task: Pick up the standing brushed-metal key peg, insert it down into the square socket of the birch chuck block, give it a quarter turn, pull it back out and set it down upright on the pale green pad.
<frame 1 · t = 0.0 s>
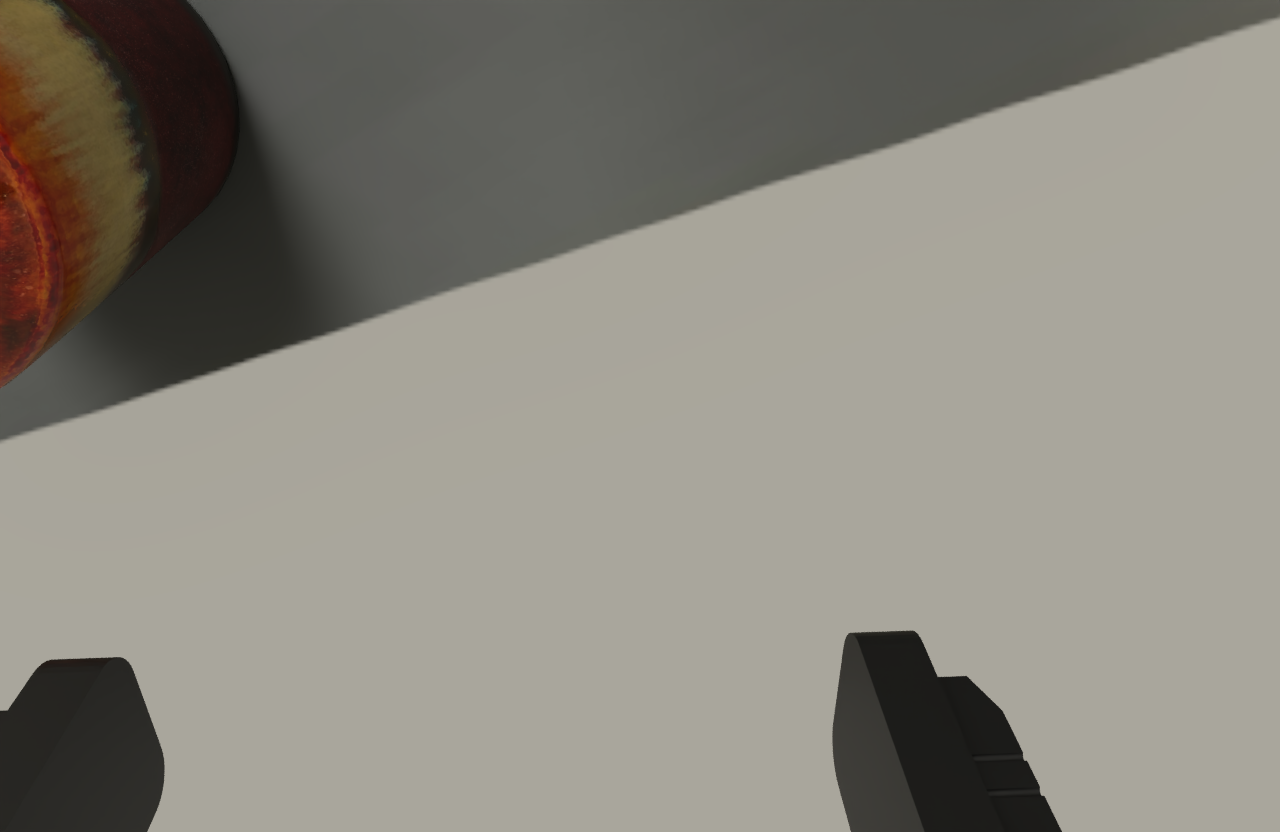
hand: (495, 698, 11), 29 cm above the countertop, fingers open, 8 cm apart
vase: (91, 94, 35), on the countertop
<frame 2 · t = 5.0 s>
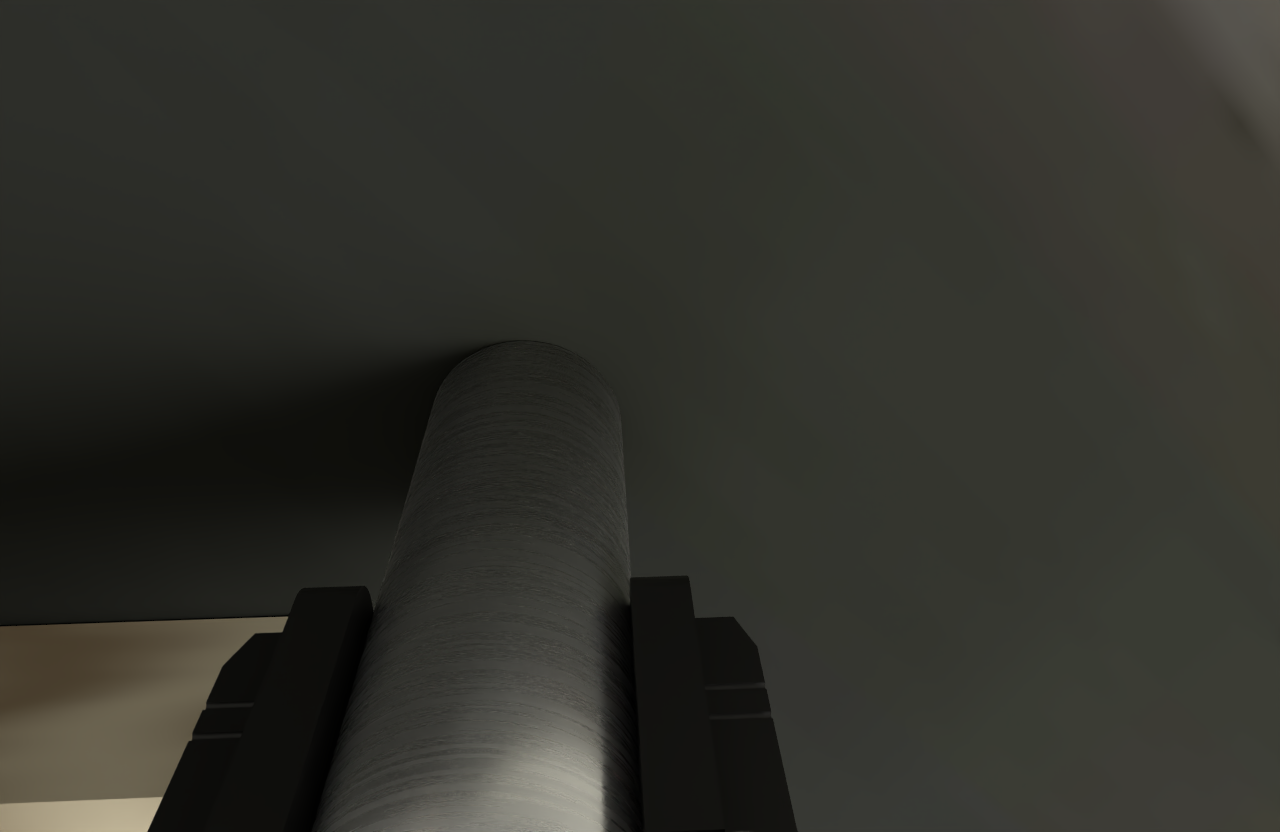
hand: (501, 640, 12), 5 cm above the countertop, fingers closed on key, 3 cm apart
key: (527, 426, 16), on the countertop, touching gripper
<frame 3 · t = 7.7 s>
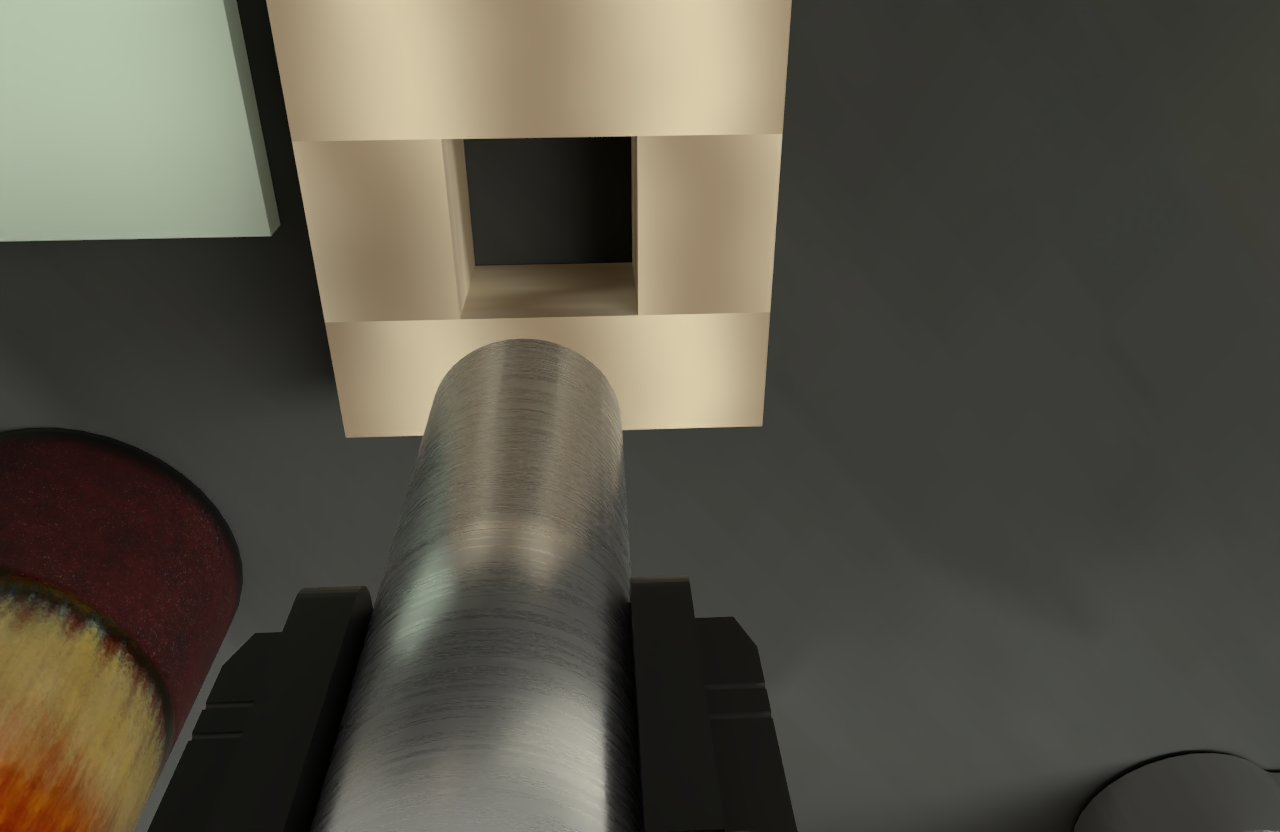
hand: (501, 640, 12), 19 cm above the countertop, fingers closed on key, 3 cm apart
chuck block: (549, 186, 28), on the countertop
vase: (90, 553, 34), on the countertop
key: (527, 424, 16), point 14 cm above the countertop, touching gripper
pad: (55, 48, 26), on the countertop
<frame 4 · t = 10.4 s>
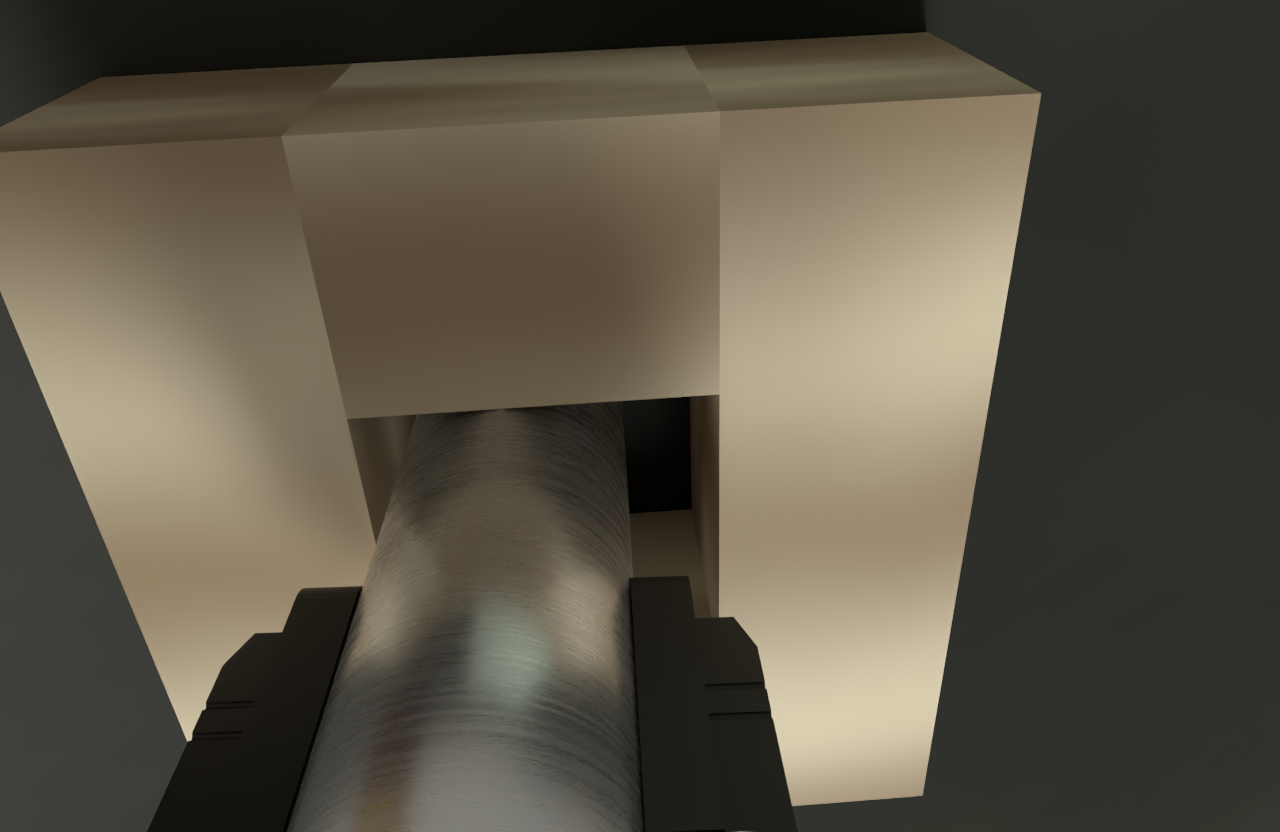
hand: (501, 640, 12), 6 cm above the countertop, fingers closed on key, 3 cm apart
chuck block: (555, 409, 17), on the countertop
key: (525, 393, 16), point 1 cm above the countertop, touching chuck block, gripper
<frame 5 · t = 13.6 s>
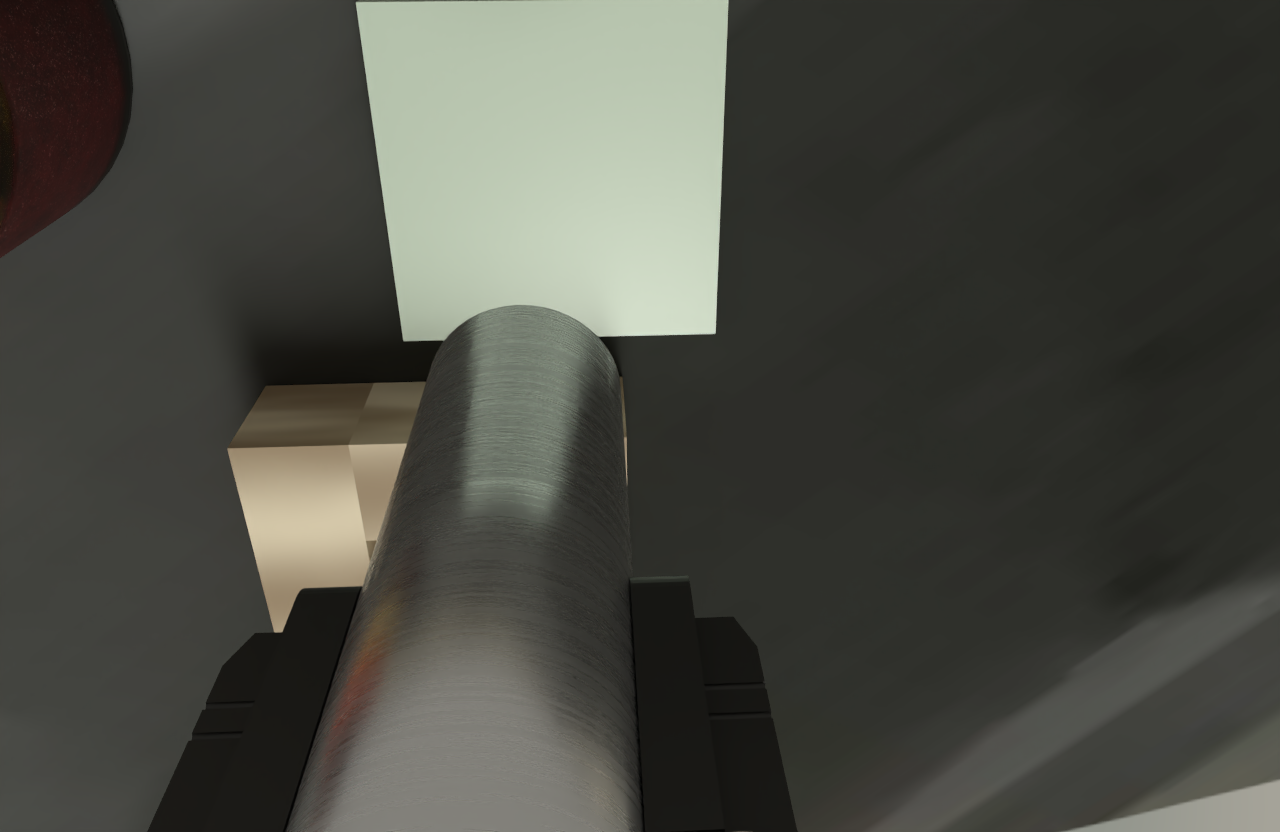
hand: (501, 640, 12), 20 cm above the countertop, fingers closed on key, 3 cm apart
chuck block: (462, 524, 36), on the countertop
key: (525, 393, 16), point 15 cm above the countertop, touching gripper
pad: (553, 174, 29), on the countertop
when the fingers open (7 cm above the countertop, at t = 16.2 s): key stays where it is, resting on pad.
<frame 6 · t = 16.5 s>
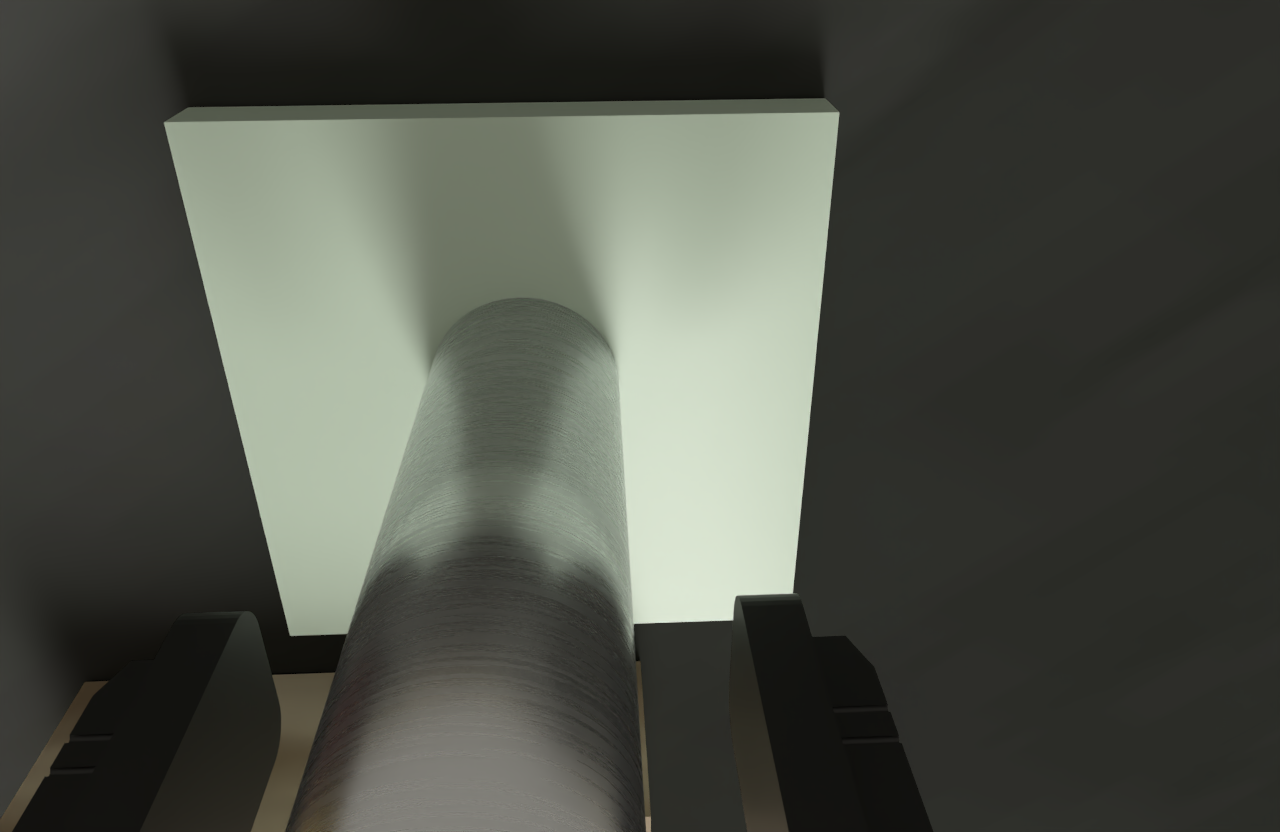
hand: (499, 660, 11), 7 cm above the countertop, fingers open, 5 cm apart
key: (525, 383, 17), point 1 cm above the countertop, touching pad
pad: (530, 383, 18), on the countertop
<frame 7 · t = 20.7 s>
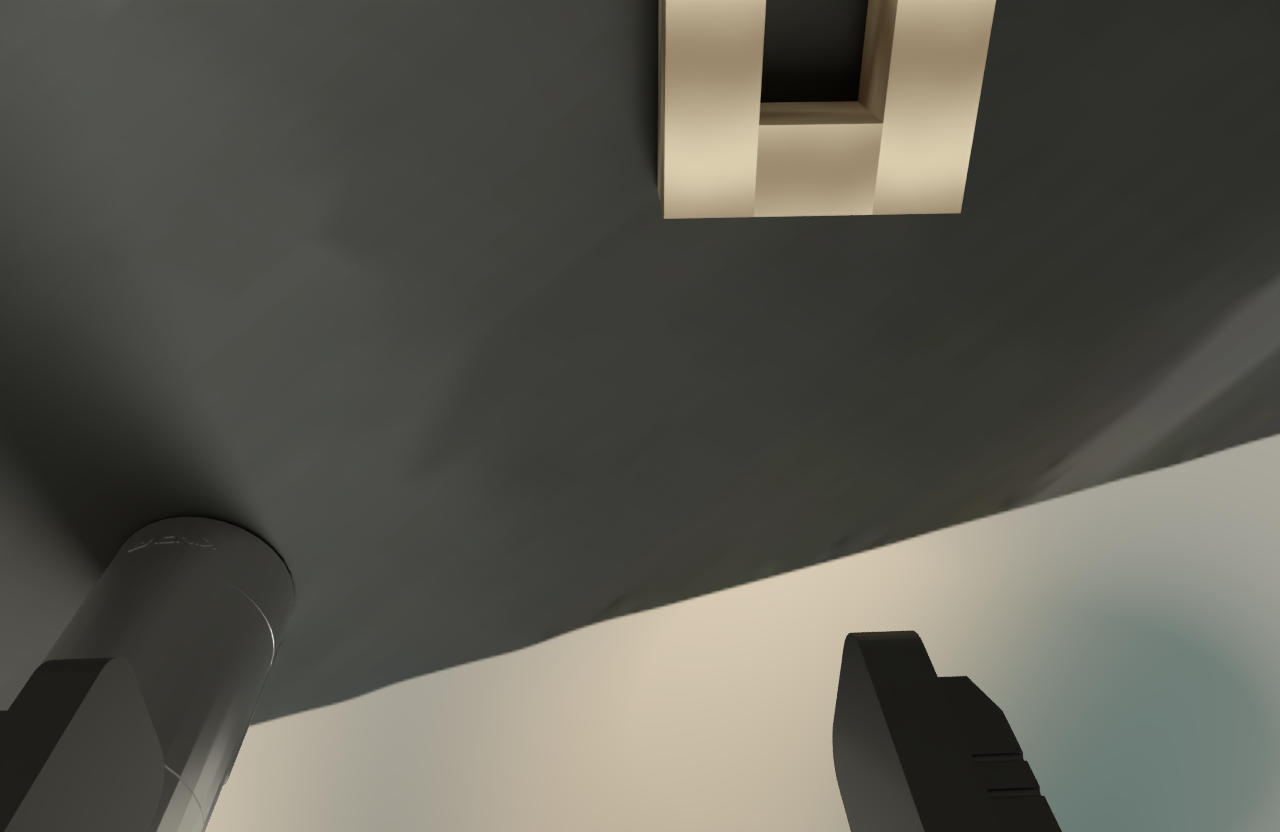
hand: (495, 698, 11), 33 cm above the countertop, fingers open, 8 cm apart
chuck block: (805, 41, 39), on the countertop
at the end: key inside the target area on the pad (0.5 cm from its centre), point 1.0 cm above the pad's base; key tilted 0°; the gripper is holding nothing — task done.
